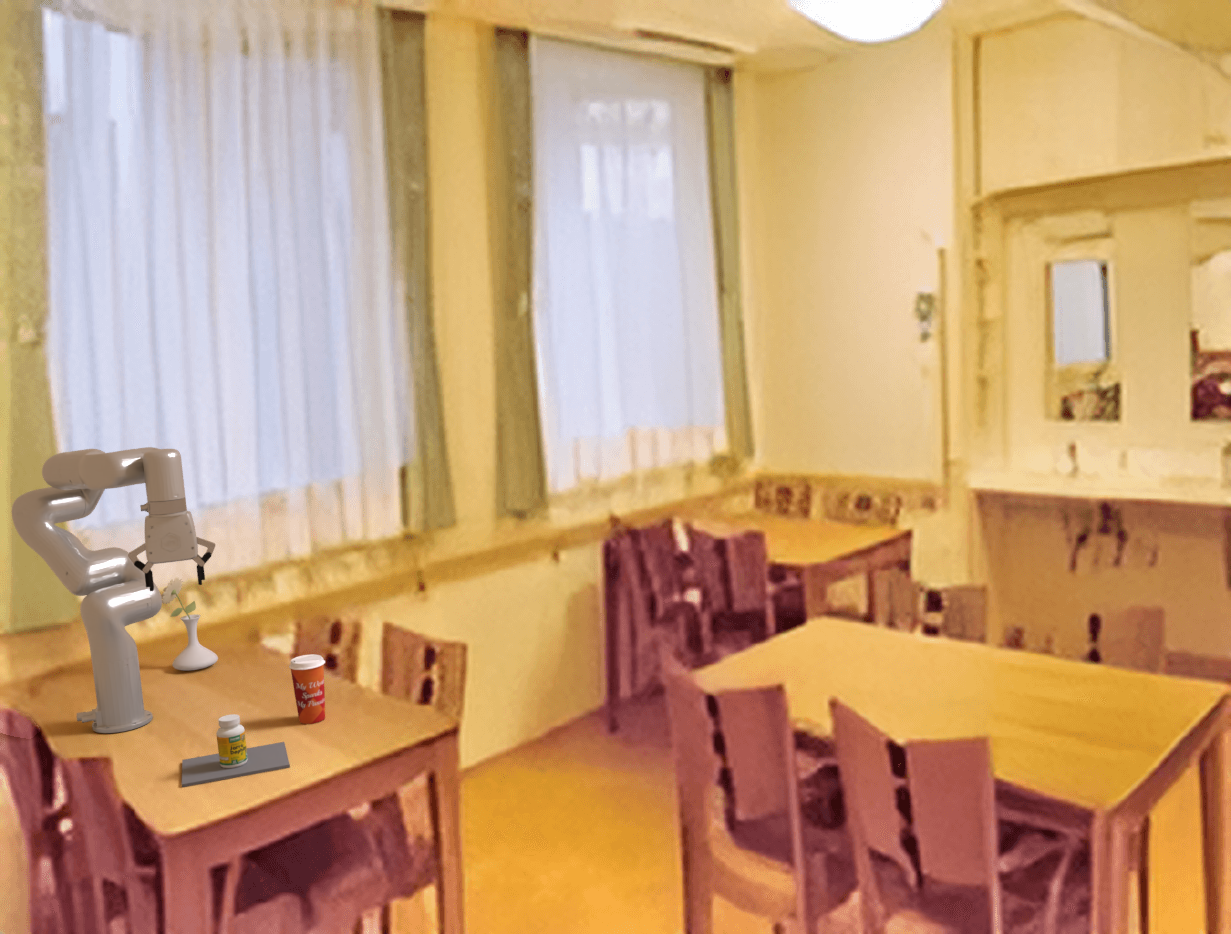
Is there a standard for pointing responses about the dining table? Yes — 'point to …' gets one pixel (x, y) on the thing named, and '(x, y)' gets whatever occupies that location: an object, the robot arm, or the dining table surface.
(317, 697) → the paper cup
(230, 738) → the supplement bottle
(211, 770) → the charcoal mat
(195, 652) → the flower in vase
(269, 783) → the dining table surface
